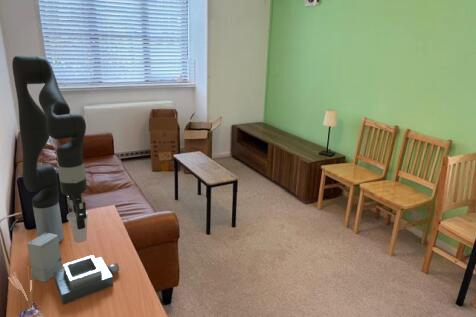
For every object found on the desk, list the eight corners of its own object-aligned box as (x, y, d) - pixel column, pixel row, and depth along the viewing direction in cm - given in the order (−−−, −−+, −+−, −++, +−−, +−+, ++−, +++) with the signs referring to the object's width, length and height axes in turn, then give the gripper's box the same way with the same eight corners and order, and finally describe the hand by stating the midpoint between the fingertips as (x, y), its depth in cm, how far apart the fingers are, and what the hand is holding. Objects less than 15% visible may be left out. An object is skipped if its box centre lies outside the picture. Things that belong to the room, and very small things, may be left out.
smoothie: (83, 246, 110) (78, 208, 106) (65, 243, 111) (60, 205, 107) (94, 235, 116) (90, 199, 112) (78, 233, 117) (73, 196, 113)
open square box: (55, 281, 119) (52, 265, 117) (112, 262, 131) (111, 246, 129) (63, 304, 110) (60, 287, 107) (124, 281, 122) (123, 265, 119)
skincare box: (45, 283, 119) (39, 247, 113) (32, 279, 120) (25, 243, 115) (63, 268, 126) (59, 234, 121) (50, 265, 128) (45, 230, 123)
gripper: (54, 172, 109) (61, 217, 115) (65, 188, 99) (71, 237, 104) (79, 167, 114) (84, 212, 119) (92, 182, 103) (97, 230, 109)
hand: (78, 223), depth 112 cm, fingers closed on smoothie, 6 cm apart
